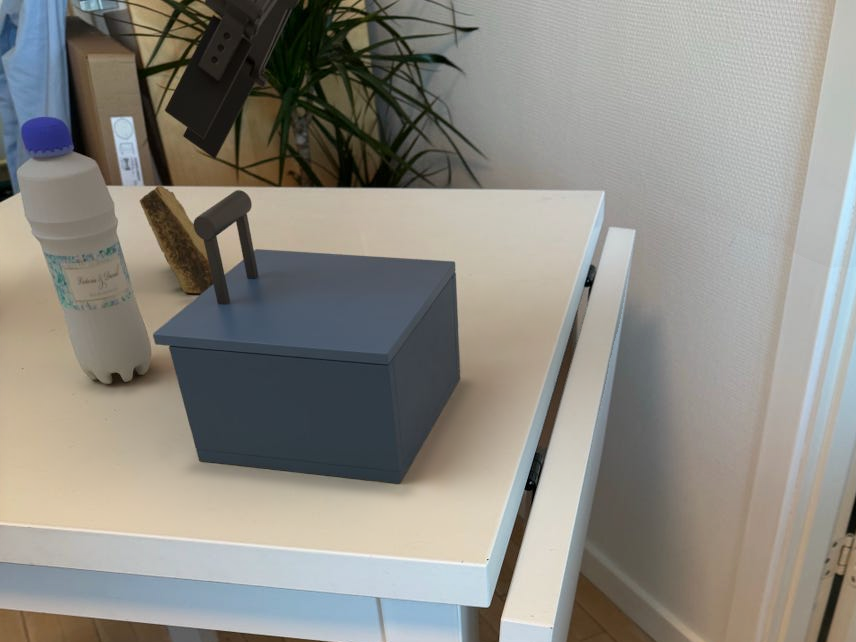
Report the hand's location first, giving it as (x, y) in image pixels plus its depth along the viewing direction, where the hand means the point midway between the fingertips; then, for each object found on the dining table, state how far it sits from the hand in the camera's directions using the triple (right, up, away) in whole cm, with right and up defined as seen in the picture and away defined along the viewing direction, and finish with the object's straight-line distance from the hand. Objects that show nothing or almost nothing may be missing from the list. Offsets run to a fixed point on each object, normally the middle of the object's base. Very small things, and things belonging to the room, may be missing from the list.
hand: (192, 138), depth 66 cm
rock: (-10, +2, +31) cm, 33 cm away
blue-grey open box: (+9, -19, +7) cm, 22 cm away
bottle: (-11, -13, +15) cm, 22 cm away
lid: (+9, -12, +1) cm, 15 cm away
